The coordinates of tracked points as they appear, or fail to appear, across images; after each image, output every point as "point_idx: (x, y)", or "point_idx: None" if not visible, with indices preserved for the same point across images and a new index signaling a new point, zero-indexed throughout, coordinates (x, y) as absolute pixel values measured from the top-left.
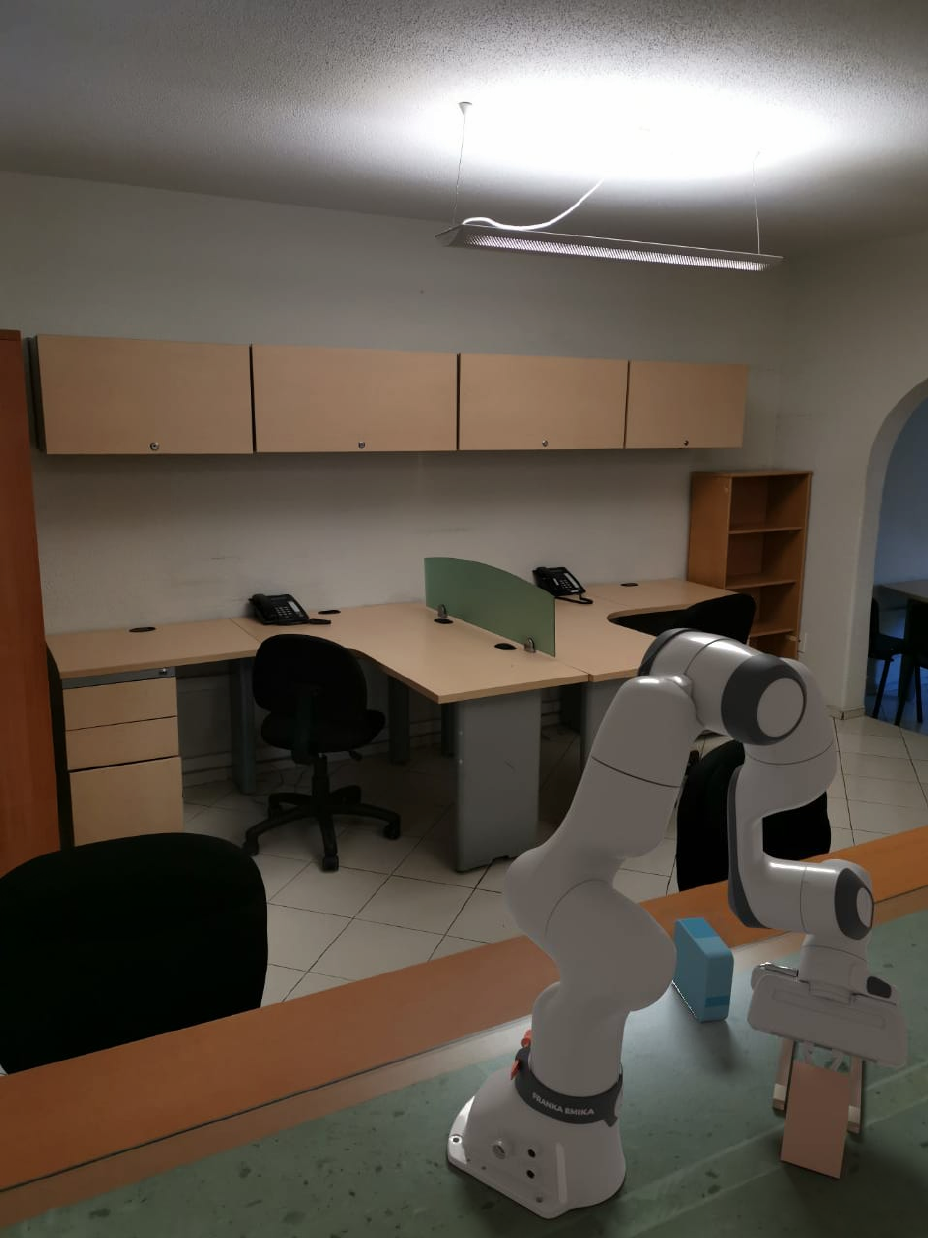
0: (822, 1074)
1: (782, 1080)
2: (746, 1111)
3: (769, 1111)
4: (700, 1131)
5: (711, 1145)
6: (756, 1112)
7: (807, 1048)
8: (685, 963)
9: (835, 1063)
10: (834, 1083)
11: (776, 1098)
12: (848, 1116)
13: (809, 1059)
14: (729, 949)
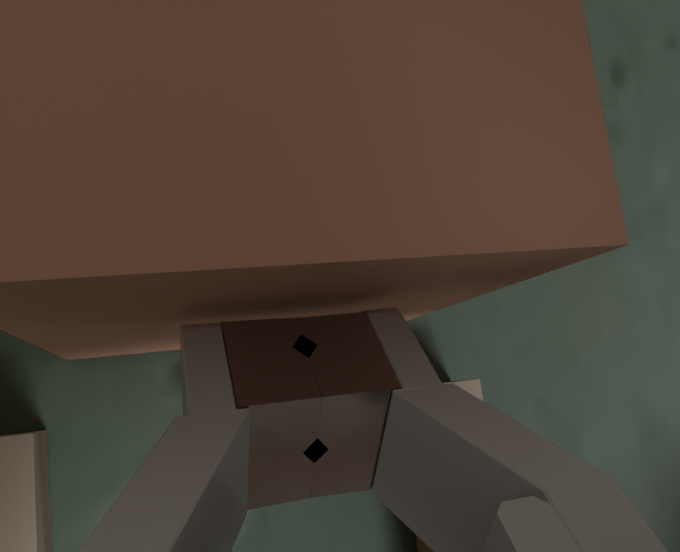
0: (296, 127)
1: None
2: (541, 284)
3: (454, 344)
4: (648, 74)
5: (591, 19)
6: (502, 302)
7: (575, 516)
8: None
9: (166, 501)
10: (128, 13)
11: (463, 384)
12: (30, 476)
13: (473, 424)
14: None
